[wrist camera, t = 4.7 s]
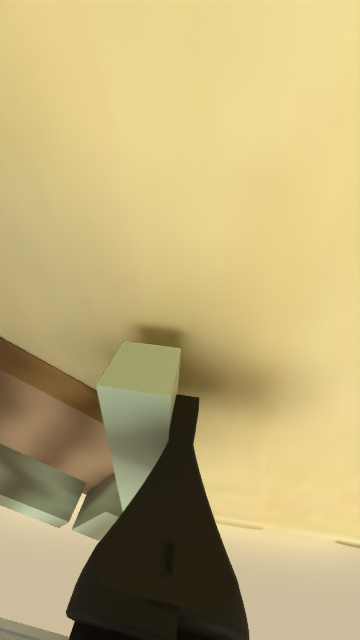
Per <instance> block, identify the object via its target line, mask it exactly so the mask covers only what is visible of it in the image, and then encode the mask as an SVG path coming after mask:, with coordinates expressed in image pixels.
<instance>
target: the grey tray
mask: <svg viewBox="0 0 360 640" xmlns="http://www.w3.org/2000/svg"><path fill="white" fill-rule="evenodd" d="M82 493H83V494H86V497H85V500H84V502H83V505H82V507H81V509H80V512H79V514H78V516H77V519H76V521H75V523H74V525H73V528H72V530H73V531H76V532H78V533H81V534H84V535H86V536H88V537H91V538H93V539H96V540H101V539H102V538H103V537H104V536H105V534H106V533H107V532H108V531H109V529H110V528H111V527H112V525H113V524H114V523H115V522H116V520H117V519H118V518H119V517H120V515H121V514H122V513H123V510H122V506H121V501H120V496H119V492H118V487H117V482H116V478H115V473H114V468H113V464H112V459H111V454H110V450H109V445H108V440H107V436H106V431H105V426H104V422H103V417H102V412H101V408H100V403H99V398H98V394H97V391H95V390H93V389H91V388H90V387H88V386H86V385H84V384H82V383H81V382H79V381H77V380H75V379H74V378H72V377H70V376H68V375H66V374H65V373H63V372H61V371H59V370H57V369H56V368H54V367H52V366H50V365H49V364H47V363H45V362H43V361H41V360H40V359H38V358H36V357H34V356H32V355H31V354H29V353H27V352H25V351H23V350H22V349H20V348H18V347H16V346H15V345H13V344H11V343H9V342H7V341H6V340H4V339H2V338H0V505H1V506H4V507H6V508H9V509H12V510H14V511H17V512H19V513H22V514H24V515H27V516H29V517H32V518H34V519H37V520H40V521H42V522H45V523H47V524H50V525H52V526H55V527H57V528H60V527H61V526H63V525H65V524H66V523H68V522H69V520H70V518H71V516H72V514H73V512H74V509H75V507H76V505H77V503H78V501H79V498H80V496H81V494H82Z"/></svg>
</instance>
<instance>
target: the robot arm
mask: <svg viewBox="0 0 360 640" xmlns="http://www.w3.org/2000/svg"><path fill="white" fill-rule="evenodd" d="M198 411H199V398H198V397H191V396H184V395H178V394H176V399H175V403H174V408H173V413H172V419H171V429H170V439H169V441H168V443H167V445H166V447H165V449H164V451H163V452H162V454H161V456H160V458H159V459H158V461H157V463H156V464H155V466H154V468H153V469H152V471H151V472H150V474H149V475H148V477H147V478H146V480H145V482H144V483H143V485H142V486H141V487H140V489H139V490H138V492H137V493H136V495H135V496H134V497H133V499H132V500H131V502H130V503H129V504H128V506H127V507H126V508H125V510H124V511H123V513H122V514H121V515H120V517H119V518H118V519H117V520H116V522H115V523H114V524H113V525H112V527H111V528H110V529H109V531H108V532H107V533H106V534H105V536H104V537H103V538H102V539H101V541H100V542H99V543H98V544H97V546H96V547H95V549H94V551H93V552H92V554H91V556H90V557H89V559H88V561H87V563H86V564H85V566H84V568H83V570H82V572H81V574H80V576H79V578H78V581H77V583H76V585H75V588H74V591H73V594H72V596H71V599H70V602H69V604H68V608H67V610H66V614H67V617H68V618H70V619H72V620H74V621H75V622H74V625H73V628H72V632H71V634H70V637H67V636H64V635H60V634H57V633H53V632H49V631H46V630H43V629H39V628H36V627H32V626H29V625H25V624H22V623H18V622H14V621H11V620H8V619H4V618H0V640H249V629H248V623H247V618H246V613H245V608H244V604H243V600H242V597H241V593H240V589H239V585H238V581H237V578H236V576H235V573H234V570H233V568H232V565H231V563H230V561H229V558H228V556H227V553H226V550H225V547H224V545H223V542H222V539H221V537H220V534H219V531H218V529H217V526H216V523H215V520H214V517H213V514H212V511H211V508H210V505H209V502H208V499H207V496H206V493H205V489H204V486H203V482H202V479H201V475H200V472H199V468H198V464H197V460H196V456H195V451H194V447H193V443H194V437H195V431H196V424H197V417H198Z"/></svg>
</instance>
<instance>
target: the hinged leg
mask: <svg viewBox="0 0 360 640" xmlns="http://www.w3.org/2000/svg"><path fill="white" fill-rule="evenodd" d="M180 356H181V348H175V347H167V346H160V345H152V344H144V343H137V342H129V341H124V342H123V343H122V345H121V346H120V348H119V350H118V351H117V353H116V354H115V356H114V357H113V359H112V360H111V362H110V364H109V365H108V367H107V368H106V370H105V371H104V373H103V374H102V376H101V378H100V379H99V381H98V382H97V384H96V389H97V394H98V398H99V403H100V408H101V412H102V417H103V422H104V426H105V431H106V436H107V440H108V445H109V450H110V454H111V459H112V464H113V468H114V473H115V478H116V482H117V487H118V492H119V496H120V501H121V506H122V510H123V511H124V510H125V508H126V507H127V506H128V504H129V503H130V502H131V500H132V499H133V497H134V496H135V495H136V493H137V492H138V490H139V489H140V487H141V486H142V485H143V483H144V482H145V480H146V478H147V477H148V475H149V474H150V472H151V471H152V469H153V468H154V466H155V464H156V463H157V461H158V459H159V458H160V456H161V454H162V452H163V451H164V449H165V447H166V445H167V443H168V441H169V439H170V429H171V419H172V413H173V408H174V403H175V399H176V394H178V382H179V369H180Z"/></svg>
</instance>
